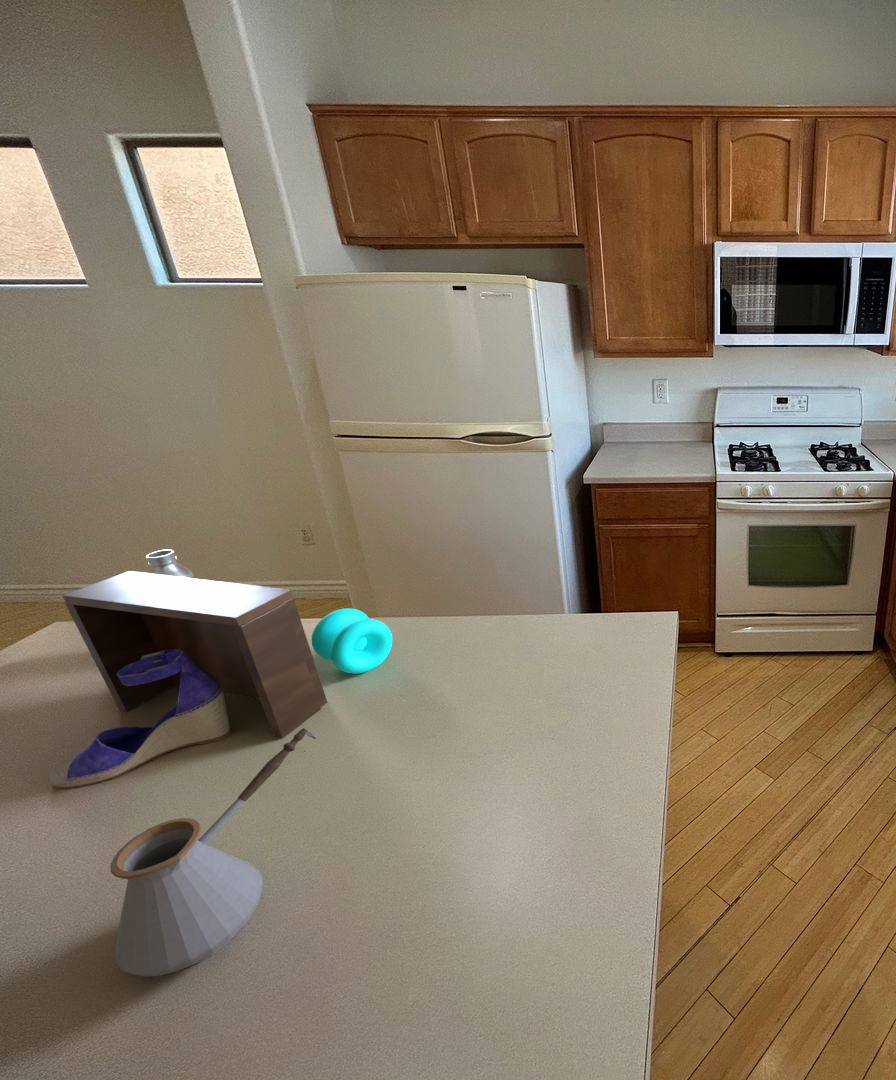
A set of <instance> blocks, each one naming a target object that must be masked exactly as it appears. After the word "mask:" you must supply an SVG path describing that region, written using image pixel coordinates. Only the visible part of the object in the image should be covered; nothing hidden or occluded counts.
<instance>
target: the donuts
mask: <svg viewBox="0 0 896 1080" xmlns="http://www.w3.org/2000/svg"><path fill="white" fill-rule="evenodd" d="M311 646H312V648H313V649H312V650H313V651H314V652H315V653H316V655H317V656H319V657H320V658H322V659H324V660H326V661H330V662H333V664H334V665H335V667H336V668H337V669H339V670H340V671H342V672H345V673H346V674H355V675H357V674H364V673H366V672H369V671H371V670H374V669H375V668H377V667H378V666H380V665H381V664H382V663H383V662H384V661H385V660H386V659H387V657H388V656H389V654H390V652H391V650H392V646H393V633H392V632H391V630H390V628H389V627H388V626H387V624H386V623H384V622H382V621H380V620H378V619H374V618H373V619H372V618H369V617H368V615H367V614H366V613H365V612H363V611H361V610H359V609H356V608H350V607H349V608H347V607H346V608H340V609H337V610H333V611H331V612H329V613H328V614H326V615H325V616H324V617H322V618H321V619H320V620H318V622H317V624H316V625H315V627H314V628H313V632H312V634H311Z"/></svg>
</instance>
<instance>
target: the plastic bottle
mask: <svg viewBox="0 0 896 1080" xmlns="http://www.w3.org/2000/svg"><path fill="white" fill-rule="evenodd" d="M145 558H146V560H147V562H148V563H147V564H148V566H149V567H151V568H152V569H151V570H150V571H149V573H151V574H160V575H168V576H177V577H186V578H194V579H196V578H195V574H194V573H193V572H192V570H191V569H189V568H187V567H186V566H184V565H182V564H180V563H179V562H177V561H178V557H177V555H176V554H175V551H174V550H173V549H161V550H157V551H153V552H151V553H148V554H146V556H145Z"/></svg>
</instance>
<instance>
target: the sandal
mask: <svg viewBox="0 0 896 1080" xmlns="http://www.w3.org/2000/svg"><path fill="white" fill-rule="evenodd" d="M165 651H166V652H165ZM146 657H148V658H146ZM170 663H171V664H170ZM161 664H166V665H162V666H158V665H161ZM156 666H158V667H156ZM153 667H154V668H153ZM150 668H151V669H150ZM145 670H146V671H148V672H144V673H140V674H137V673H139V672H142V671H145ZM179 671H182V672H181V681H180V686H179V689H178V697H177V704H176V705H175V706H173V707H172V708H170V709H169V710H168V711H167V712H165V713H164V715H162V716H161V718H160V719H159V720H158V721H157V722H156V723H155V725H154V726H118V727H112V728H108V729H104V730H102V731H100V732H98V733H97V734H96V736H95V738H94V740H93V741H92V742H91V744H90V745H88V746H87V747H86V749H84V750H82V751H81V752H80V753H78V754H77V755H76V756H75V757H74V758H72V759H70V760H67V761H66V762H63V764H61V765H59V766H58V767H57V768H55V769H54V770H53V771H52V772H51V773H50V774H49V776H48V781H49V783H50V784H51V785H52V786H53V787H55V788H56V789H73V788H74V789H75V788H80V787H86V786H90V785H95V784H99V783H102V782H107V781H110V780H112V779H114V778H117V777H119V776H121V775H123V774H125V773H128V772H130V771H131V770H134V769H136V768H138V767H139V766H141V765H143V764H146V763H147V762H150V761H152V760H154V759H156V758H157V757H159V756H161V755H164V754H166V753H169V752H172V751H176V750H178V749H181V748H185V747H188V746H193V745H197V744H199V745H200V746H201V745H205V744H210V743H214V742H218V741H221V740H224V739H225V738H228V736H229V735H230V734H231V733H232V731H231V728H230V721H229V716H228V711H227V705H226V700H225V699H226V698H225V693H223V690H222V688H221V687H220V686H219V684H218V682H217V680H216V679H214V678H213V677H212V676H211V675H209V674H208V673H207V672H205V671H204V670H203V669H201V668H200V667H199V666H197V665H196V664H195V663H194V662H193V661H192V660H191V658H190V657H189V655H188V654H187V653H186V652H185V651H182V650H179V649H174V650H163V651H160V652H156V653H152V654H148V655H144V656H142V657H141V660H140V661H137V662H134V663H132V664H129V665H127V666H125V667H124V668H122V669H121V670H119V671H118V673H117V676H118V678H119V679H120V681H121V683H122V684H123V685H125V686H133V685H139V684H145V683H149V682H153V681H157V680H160V679H163V678H166V677H169V676H171V675H174V674H176V673H178V672H179Z"/></svg>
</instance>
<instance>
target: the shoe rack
mask: <svg viewBox="0 0 896 1080" xmlns="http://www.w3.org/2000/svg"><path fill="white" fill-rule="evenodd" d="M194 578H195V577H194ZM194 578H186V577H177V576H168V575H160V574H151V573H150V572H143V571H142V572H141V571H133V570H127V571H125V572H123V573H120V574H117V575H114V576H112V577H108V578H105V579H103V580H100V581H98V582H95V583H93V584H90V585H87V586H85V587H81V588H79V589H76V590H74V591H71V592H68V593H66V594H63V595H62V598H63V600H64V602H65V606H66V608H67V610H68V612H69V614H70V616H71V618H72V620H73V621H74V624H75V626H76V628H77V630H78V632H79V634H80V636H81V637H82V640H83V642H84V643H85V646H86V648H87V649H88V652H89V654H90V655H91V658H92V659H93V661H94V664H95V665H96V667H97V669H98V671H99V673H100V675H101V677H102V679H103V681H104V683H105V685H106V687H107V689H108V691H109V693H110V695H111V697H112V699H113V700H114V703H115V704H116V706H117V708H118V710H119V711H120V712H125V713H127V712H130V711H131V710H133V709H135V708H136V707H138V706H141V705H142V704H143V703H145V702H148V701H149V700H151V699H153V698H154V697H157V696H158V695H160V694H162V693H163V692H165V691H166V690H169V689H170V688H172V687H180V681H181V672H182V671H179V672H178V673H176V674H174V675H171V676H169V677H166V678H163V679H160V680H157V681H153V682H149V683H145V684H139V685H133V686H125V685H123V684H122V683H121V681H120V679H119V678H118V676H117V673H118V671H119V670H121V669H122V668H124V667H125V666H127V665H129V664H132V663H134V662H137V661H140V660H141V657H142V656H144V655H148V654H152V653H156V652H160V651H163V650H174V649H179V650H182V651H185V652H186V653H187V654H188V655H189V657H190V658H191V660H192V661H193V662H194V663H195V664H196V665H197V666H199V667H200V668H201V669H203V670H204V671H205V672H207V673H208V674H209V675H211V676H212V677H213V678H214V679H216V680H217V682H218V684H219V686H220V687H221V688H222V690H223V693H224V695H232V696H239V697H245V698H251V699H257V700H259V701H260V704H261V707H262V709H263V711H264V713H265V716H266V719H267V722H268V724H269V727H270V730H271V732H272V735H273V737H274V738H277V739H278V738H279V739H285V737H287V736H288V735H289V734H291V733H292V732H294V730H296V729H297V728H299V727H300V726H301V725H302V724H303V723H305V722H306V721H308V720H309V719H310V718H311V717H313V716H314V715H316V713H318V712H319V711H321V708H323V706H325V705H326V704H328V699H327V696H326V693H325V691H324V688H323V684H322V681H321V678H320V675H319V672H318V669H317V665H316V663H315V659H314V656H313V654H312V650H311V647H310V644H309V641H308V638H307V635H306V632H305V629H304V626H303V623H302V619H301V616H300V614H299V611H298V608H297V605H296V604H297V603H296V601H295V599H294V594H293V592H292V589H289V588H288V589H287V588H279V587H271V586H263V585H256V584H255V585H254V584H245V583H236V582H229V581H219V580H211V579H210V580H209V579H201V578H195V579H194ZM165 652H166V651H165ZM146 658H148V657H146ZM170 664H171V663H170ZM162 665H166V664H161V665H158V666H162ZM158 666H156V667H158ZM153 668H154V667H153ZM150 669H151V668H150ZM144 672H148V671H146V670H145V671H142V672H139V673H137V674H140V673H144Z"/></svg>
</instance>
